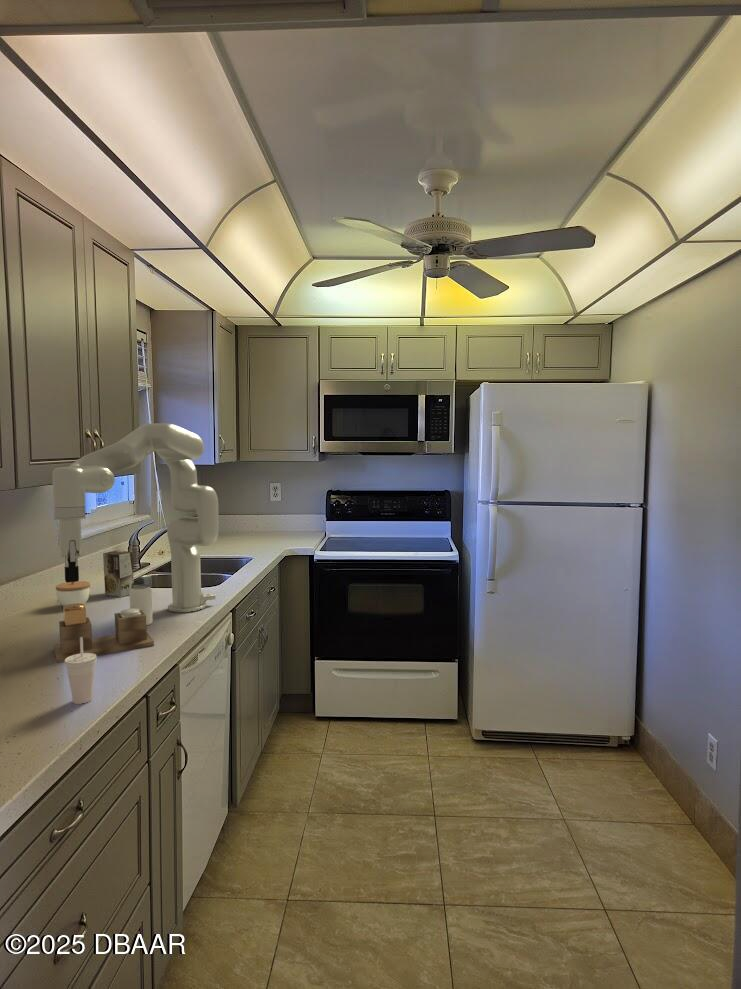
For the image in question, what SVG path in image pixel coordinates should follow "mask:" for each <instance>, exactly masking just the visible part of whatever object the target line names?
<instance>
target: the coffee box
mask: <svg viewBox="0 0 741 989" xmlns="http://www.w3.org/2000/svg"><path fill="white" fill-rule="evenodd" d="M133 559H134V558H133V551H128V550H127V551H126V550H112V551H108V552H104V553H102V560H103V561H102V562H103V577H104V579H103V580H104V594H105V596H111V597H118V598H122V597H126V595H127V596H130V595H129V593H130V590H131V587H132V586H135V584H134V583H135V582H134V580H135V579H134V560H133Z"/></svg>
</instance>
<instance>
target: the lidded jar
mask: <svg viewBox="0 0 741 989" xmlns="http://www.w3.org/2000/svg"><path fill="white" fill-rule="evenodd" d="M55 592H56V598H57V601H58V602H59V604H60V605H61V606H62V607H64V606H66V605H69V604H75V603H82V604H86V603H87V601H88V600H89V598H90V595H91V594H90V593H91V583H90V581H85V580H79V581H77V582H66V581H65V582H61V583H59V584H57V585H55Z"/></svg>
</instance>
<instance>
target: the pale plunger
mask: <svg viewBox="0 0 741 989" xmlns="http://www.w3.org/2000/svg"><path fill="white" fill-rule="evenodd" d="M118 613H119V616H120V617H121V618H128V617H134V616H141V613H140V611H139V609H130V608H126V609H122V610H120V611H118Z"/></svg>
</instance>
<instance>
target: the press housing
mask: <svg viewBox="0 0 741 989" xmlns="http://www.w3.org/2000/svg"><path fill="white" fill-rule="evenodd" d="M139 611H140V613H141V616H134V617H128V618H121V617H120V616H119V612H115V613H114V634H113V635H111V634H110V635H107V636H105V635H104V636H101V637H99V636H98V637H93V634H92V633H93V631H92V622H91V621H90V617H88V616H86V624H80V625H73V626H67V627H64V620H59V621H58V624H59V626H58V627H59V643H57V644H53V650H55V651H54V654H55V658H56V662H57V663H62V662H65V659H66V658H67V657H69V656H72V655H75V654H80V637H83V653H93V654H95V655H96V656H102V655H107V654H108V655H109V654H113V653H119V651H120V652H124V651H130V650H135V648H137V649H140V648H141V647H143V648H147V647H146V646H148V647H152V646H151V645H154V646H155V641H154V639H153V638H152V637H151V635H149V634H150V633H148V632H147V627H148V626H146V615H145V614H144V612H143V611H142V610H139ZM141 649H142V648H141Z"/></svg>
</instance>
